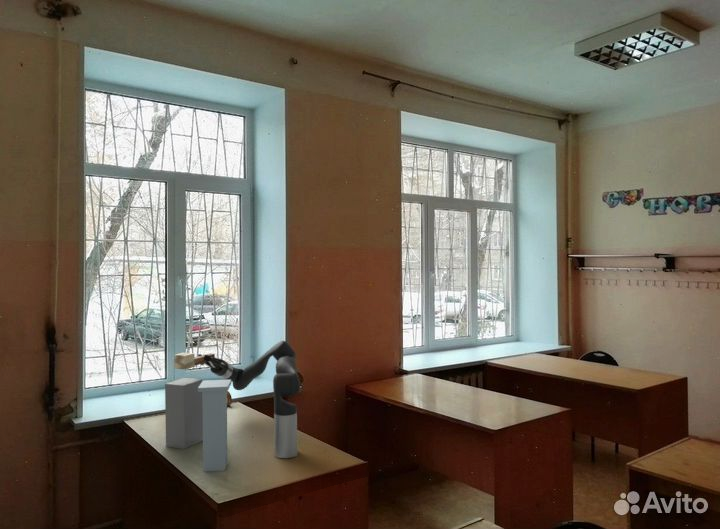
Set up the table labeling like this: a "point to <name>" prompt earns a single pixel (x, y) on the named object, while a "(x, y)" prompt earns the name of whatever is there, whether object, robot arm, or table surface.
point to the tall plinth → (214, 424)
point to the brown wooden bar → (189, 360)
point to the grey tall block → (183, 413)
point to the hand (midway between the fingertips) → (201, 356)
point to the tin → (229, 398)
